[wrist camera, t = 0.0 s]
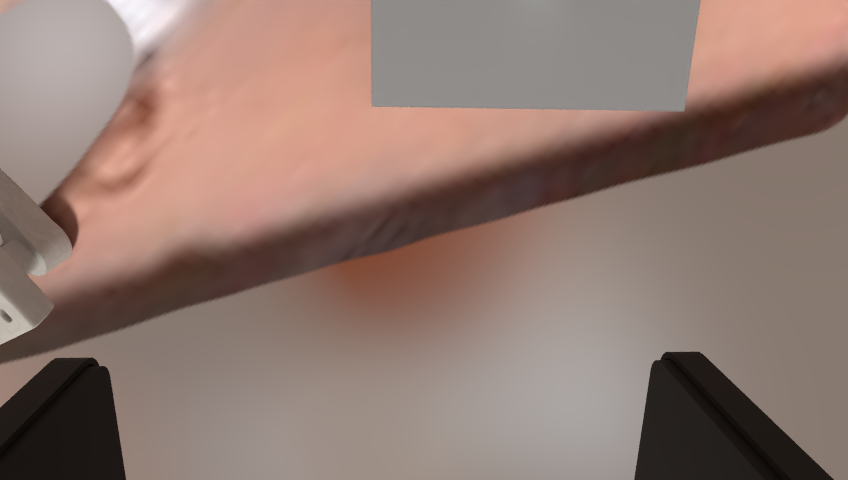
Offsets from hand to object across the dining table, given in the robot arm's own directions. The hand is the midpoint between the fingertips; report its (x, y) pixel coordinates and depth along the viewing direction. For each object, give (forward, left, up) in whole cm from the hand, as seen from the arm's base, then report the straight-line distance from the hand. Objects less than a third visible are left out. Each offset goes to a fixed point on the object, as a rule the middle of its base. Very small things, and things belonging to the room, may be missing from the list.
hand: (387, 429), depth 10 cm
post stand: (-11, +9, -31) cm, 34 cm away
